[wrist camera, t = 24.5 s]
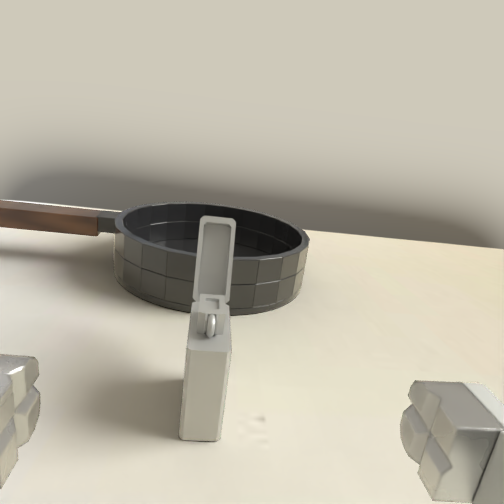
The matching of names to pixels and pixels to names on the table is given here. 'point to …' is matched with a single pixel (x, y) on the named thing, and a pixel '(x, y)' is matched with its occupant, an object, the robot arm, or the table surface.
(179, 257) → the pan
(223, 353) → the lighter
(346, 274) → the table surface
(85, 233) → the pan handle
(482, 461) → the robot arm
